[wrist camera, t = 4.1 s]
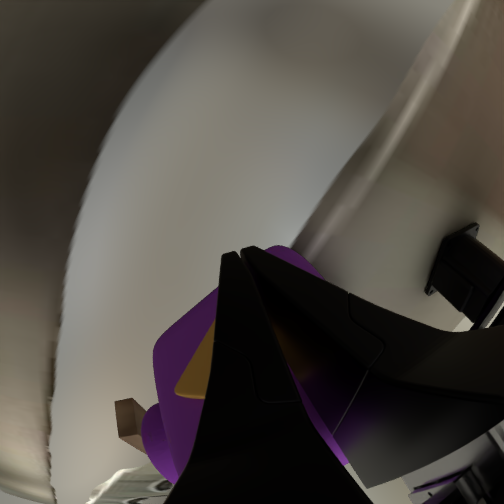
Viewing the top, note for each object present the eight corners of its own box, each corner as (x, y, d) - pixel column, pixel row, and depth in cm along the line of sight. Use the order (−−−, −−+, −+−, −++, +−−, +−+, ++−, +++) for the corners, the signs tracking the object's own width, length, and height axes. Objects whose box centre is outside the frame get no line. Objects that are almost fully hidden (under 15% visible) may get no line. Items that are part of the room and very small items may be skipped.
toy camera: (107, 379, 15) (132, 529, 7) (241, 204, 12) (402, 424, 4) (231, 402, 21) (275, 506, 14) (356, 289, 18) (449, 401, 11)
